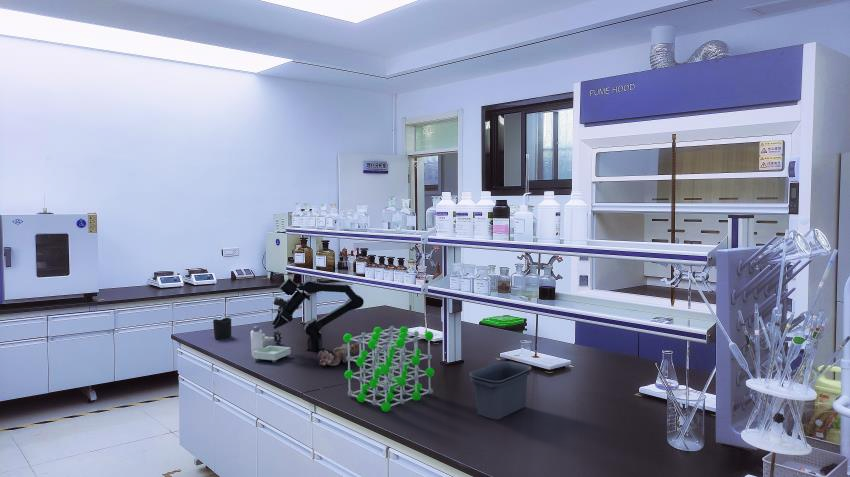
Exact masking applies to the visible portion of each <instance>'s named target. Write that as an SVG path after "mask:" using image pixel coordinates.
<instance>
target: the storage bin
mask: <svg viewBox="0 0 850 477" xmlns="http://www.w3.org/2000/svg"><path fill="white" fill-rule="evenodd" d="M531 369H533V368H532V366H531V365H528V364H523V363H520V362H515V361H508V360H507V361H505V360H504V361H499V362H496V363H494V364H490V365H487V366H485V367H482V368H479V369H476V370H473V371H471V372H469V376H470V382H472V383H473V384H474V390H475V391H474V393H475V400H476V409H477V410H476V411H477V414H478V415H480V416H481V417H486V418H489V419H491V420H495V421H497V420H500V419H503V418H505V417H507V416H509V415H510V414H513V413H515V412H517V411H520V410H521V409H523V408H526V405H527V404H526V403H527V386H528V376H530V375H531V374H532V372H531Z"/></svg>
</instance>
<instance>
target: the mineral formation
mask: <svg viewBox="0 0 850 477" xmlns="http://www.w3.org/2000/svg"><path fill="white" fill-rule="evenodd" d="M361 348H363V343H361ZM349 350H350V352H352V354H355V353H356V352H357V351H360V348H359V343H358V342H355V343H353V344H350V343H349ZM332 353H333V354H332ZM332 353H331V352H329V351H328V350H326V349H325V350H319V351H318V354H317V357H318V359H320V358H321V359H320V360H319V363H318V364H319V365H320V366H321V365H322V366H326V365H327V366H328V365H329V366H331V367H333V366H339V364H341V362H342V363H348V361H347V356H348V343H342V344H341V346H337V347H336V348H334V349H333V351H332Z"/></svg>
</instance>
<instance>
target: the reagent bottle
mask: <svg viewBox="0 0 850 477" xmlns="http://www.w3.org/2000/svg"><path fill="white" fill-rule="evenodd" d="M262 334H263V330H262V329H260V326H259V325H255V326H252V330H251V331H250V347H251V351H250V352H251V357H252V358H253V352H254V351H257V350H259V349H262V348H263V344H262Z"/></svg>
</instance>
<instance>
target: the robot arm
mask: <svg viewBox="0 0 850 477" xmlns="http://www.w3.org/2000/svg"><path fill="white" fill-rule="evenodd" d="M279 289H280V290H281V291H282V292H283V293H284V294H286V296H288V297H289V296H291V297H290V298H288V299H286V300H285V299H284V298H281V297H275V298H274V300H273V305H274V306H278V307H277V314H276V316H275V317H274V318H275V319H274V320H273V321H272V325H273V329H274V330H276V329H278V328H280V327H283V326H284V325H287V324H289V323H291V322H292V321H293V320H294V317H293V315H294V313H295V312H296V311H297V310H298V309H300V306H301V305H302V304H303V303H304V301H305V300H306V299H307V301H311V294H313V293H321V292H326V293H328V292H329V293H343V294H344V293H345V295H346V296H347V297H348V299H347V300H346V301H345V302H344V304H342V305H340V306H339V307H337V308H335V309H332V311H330V312H328V313H326V314H325V315H323V316H321V317H320V318H315V317H313V318H311V319H310V320H307V321H306V323H305V324H304V328H303V329H304V332H305V334H306V335H307V336H308V337H307V348H306V351H309V352H319V351H323V350H324V349H325V347H324V346H323V334H322V332H321V330H322V329H323V328H324V326H326V325H328V324H329V323H331V322H333V321H334V320H337V319H338V318H340V317H342V316H343V315H344V314H347V313H348V312H350V311H351V312H352V311H355V310H357V309H360V308H362V307H363V306H364V303H365V302H364V298H363V297H361V295H359V294H357V293H356V292H355V291H354V290H353V289H352V287H351V286H350V285H349V284H348V283H347V284H346V283H344V284H340V283H339V284H337V283H325V282H324V283H322V282H318V281H314V280H311V279H307V280H305V281H303V283H295V282H294V281H293V280H292V279H291V278H290V277H288V279H286V280H285V281H283V283H282V284H281V285H280V286H279Z"/></svg>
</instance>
